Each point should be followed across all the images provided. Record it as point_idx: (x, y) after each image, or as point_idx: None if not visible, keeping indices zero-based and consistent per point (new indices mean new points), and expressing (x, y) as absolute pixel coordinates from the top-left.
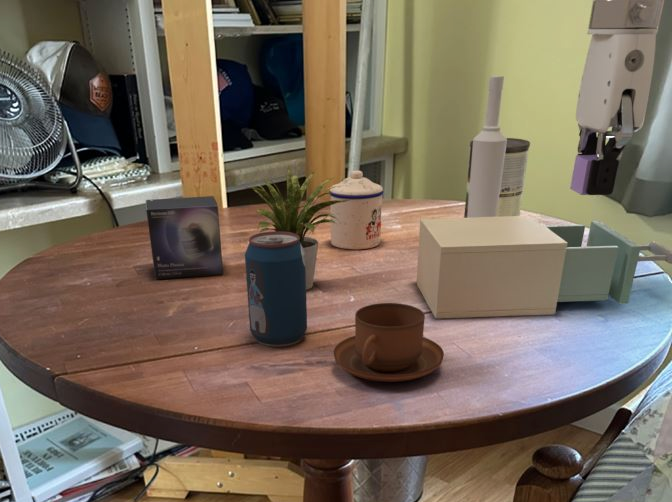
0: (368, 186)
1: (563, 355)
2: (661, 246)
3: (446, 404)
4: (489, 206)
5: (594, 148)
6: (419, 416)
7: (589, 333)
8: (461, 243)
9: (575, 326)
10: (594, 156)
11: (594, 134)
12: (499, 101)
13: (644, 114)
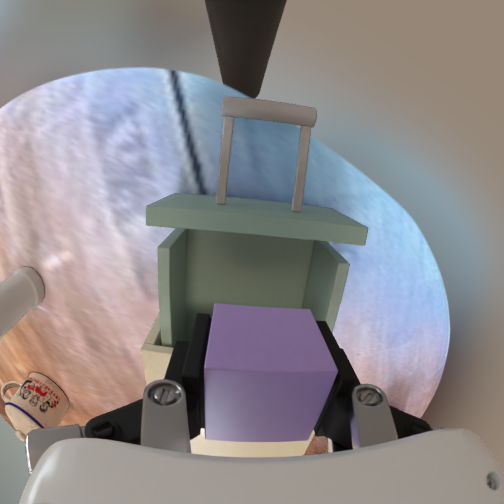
0: (30, 428)
1: (406, 329)
2: (264, 109)
3: (418, 402)
4: (9, 311)
5: (194, 419)
6: (420, 411)
7: (378, 288)
8: (293, 451)
9: (357, 295)
10: (239, 413)
11: (137, 443)
12: None
13: (496, 462)
